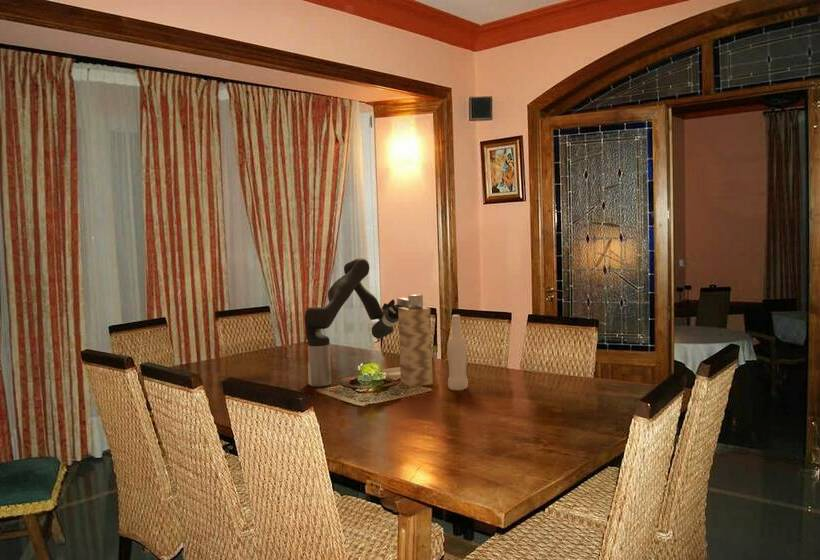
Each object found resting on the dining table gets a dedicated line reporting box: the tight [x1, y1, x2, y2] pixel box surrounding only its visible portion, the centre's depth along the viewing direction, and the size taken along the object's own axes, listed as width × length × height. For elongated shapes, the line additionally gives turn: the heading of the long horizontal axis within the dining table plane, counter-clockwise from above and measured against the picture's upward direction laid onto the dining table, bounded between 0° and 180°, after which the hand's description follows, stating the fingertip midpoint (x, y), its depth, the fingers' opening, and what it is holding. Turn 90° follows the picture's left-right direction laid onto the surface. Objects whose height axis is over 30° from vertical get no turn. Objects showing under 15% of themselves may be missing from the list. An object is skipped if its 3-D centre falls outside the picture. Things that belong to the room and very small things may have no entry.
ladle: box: [396, 294, 424, 309], centre depth 276 cm, size 6×21×6 cm, turn 22°
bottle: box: [446, 314, 469, 391], centre depth 260 cm, size 8×8×30 cm
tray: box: [380, 366, 401, 378], centre depth 287 cm, size 14×14×2 cm
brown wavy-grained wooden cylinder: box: [398, 306, 433, 387], centre depth 272 cm, size 10×11×32 cm
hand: (402, 300), depth 283 cm, fingers open, 8 cm apart
